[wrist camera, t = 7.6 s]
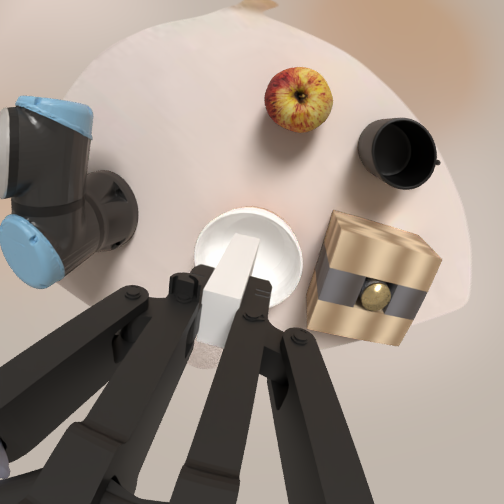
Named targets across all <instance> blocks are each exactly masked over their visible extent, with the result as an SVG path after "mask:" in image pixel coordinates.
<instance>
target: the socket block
mask: <svg viewBox="0 0 504 504" xmlns="http://www.w3.org/2000/svg"><path fill="white" fill-rule="evenodd" d="M441 261H442V259H441V258H440V257H439V255H438V254H437V253H436V252H435V251H434V250H433V249H432V248H431V247H430V246H429V245H428V244H427V243H426V242H425V241H424V240H423V239H422V238H421V237H420V236H419V235H416V234H413V233H410V232H407V231H404V230H400V229H397V228H394V227H391V226H387V225H384V224H381V223H377V222H374V221H371V220H367V219H364V218H360V217H357V216H353V215H350V214H346V213H342V212H339V211H335V210H333V212H332V216H331V219H330V223H329V226H328V229H327V233H326V236H325V239H324V242H323V246H322V249H321V252H320V255H319V258H318V261H317V264H316V268H315V271H314V274H313V277H312V280H311V283H310V286H309V289H308V292H307V295H306V299H307V329H309V330H314V331H319V332H323V333H328V334H333V335H338V336H343V337H348V338H354V339H359V340H364V341H370V342H375V343H381V344H387V345H393V346H399V345H400V343H401V341H402V340H403V338H404V336H405V334H406V332H407V331H408V329H409V327H410V325H411V324H412V322H413V320H414V318H415V316H416V314H417V312H418V310H419V308H420V306H421V304H422V302H423V300H424V298H425V296H426V294H427V292H428V290H429V288H430V286H431V284H432V282H433V279H434V277H435V275H436V273H437V271H438V268H439V266H440V264H441ZM366 277H370V278H374V279H378V280H382V281H385V282H386V284H387V286H388V288H389V290H390V292H391V299H390V301H389V303H388V304H387V306H385V307H384V308H383V309H381V310H378V311H370V310H367V309H366V308H365V307H364V306H363V304H362V301H361V298H360V295H359V293H360V291H361V288H362V286H363V283H364V281H365V278H366Z"/></svg>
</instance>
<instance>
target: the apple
mask: <svg viewBox="0 0 504 504" xmlns="http://www.w3.org/2000/svg"><path fill="white" fill-rule="evenodd" d="M264 101H265V106H266V109H267V112H268V114H269V116H270V117H271V118H272V120H273V121H274V122H275V123H277V124H278V125H280V126H281V127H283V128H285V129H288V130H290V131H293V132H298V133H302V132H308V131H311V130H313V129H315V128H317V127H318V126H320V125H321V124H322V123H323V122H325V120H326V119H327V118H328V116H329V114H330V112H331V109H332V105H333V98H332V94H331V91H330V88H329V86H328V84H327V82H326V81H325V79H324V78H323V77H322V76H321V75H320V74H319V73H318V72H316V71H314V70H312V69H309V68H304V67H295V68H289V69H286V70H283V71H281V72H280V73H278V74H276V75H275V76H274V77H273V78H272V79H271V81H270V83H269V85H268V87H267V90H266V93H265V100H264Z"/></svg>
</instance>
